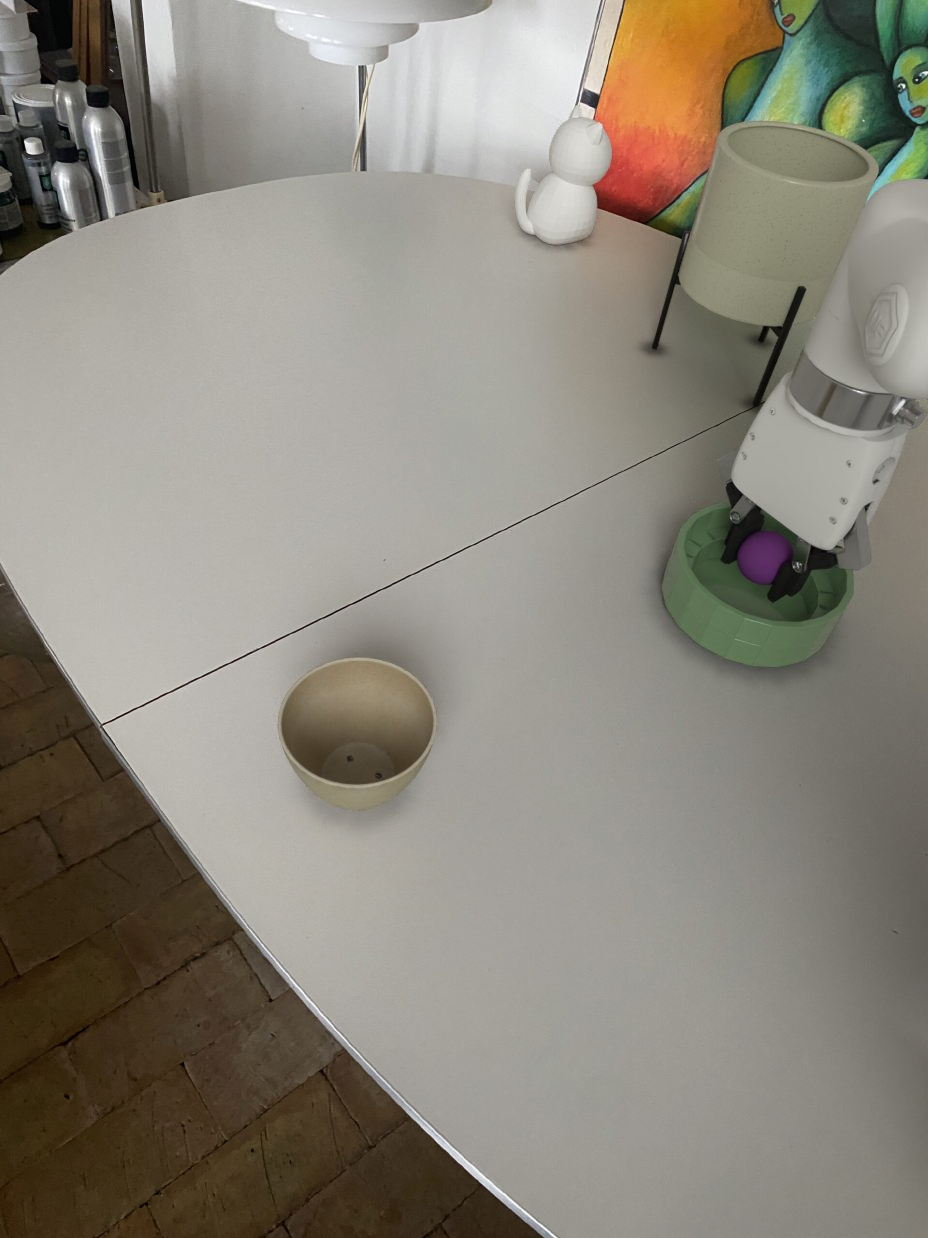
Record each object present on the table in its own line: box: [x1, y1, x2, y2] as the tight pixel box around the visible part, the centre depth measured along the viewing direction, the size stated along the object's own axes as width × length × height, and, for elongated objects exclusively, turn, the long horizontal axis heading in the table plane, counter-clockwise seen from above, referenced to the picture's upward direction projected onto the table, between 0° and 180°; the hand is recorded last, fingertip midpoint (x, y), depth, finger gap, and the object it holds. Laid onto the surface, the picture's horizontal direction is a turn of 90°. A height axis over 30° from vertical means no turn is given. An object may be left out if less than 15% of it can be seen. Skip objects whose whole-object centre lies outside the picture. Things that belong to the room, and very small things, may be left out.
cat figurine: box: [514, 104, 613, 246], centre depth 112 cm, size 9×12×15 cm
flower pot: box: [277, 656, 438, 811], centre depth 58 cm, size 10×10×7 cm
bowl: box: [661, 501, 855, 668], centre depth 72 cm, size 14×14×6 cm
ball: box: [737, 530, 794, 585], centre depth 70 cm, size 4×4×4 cm
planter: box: [651, 120, 880, 408], centre depth 91 cm, size 15×16×23 cm
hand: (758, 573), depth 72 cm, fingers closed on ball, 4 cm apart
